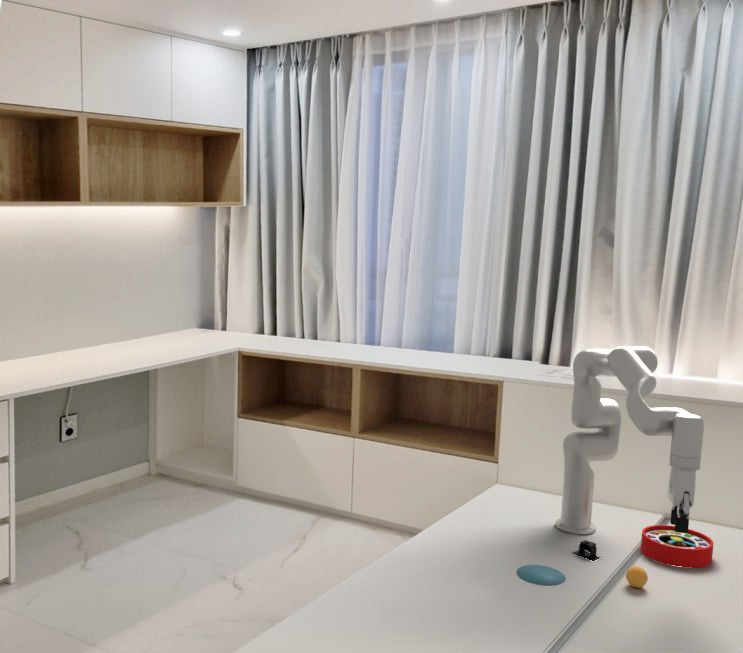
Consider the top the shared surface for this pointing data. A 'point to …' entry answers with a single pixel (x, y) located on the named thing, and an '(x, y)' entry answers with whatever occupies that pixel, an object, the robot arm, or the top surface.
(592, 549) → the black boxy piece
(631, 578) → the ball
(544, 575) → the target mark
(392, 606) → the top surface
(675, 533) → the toy clock
